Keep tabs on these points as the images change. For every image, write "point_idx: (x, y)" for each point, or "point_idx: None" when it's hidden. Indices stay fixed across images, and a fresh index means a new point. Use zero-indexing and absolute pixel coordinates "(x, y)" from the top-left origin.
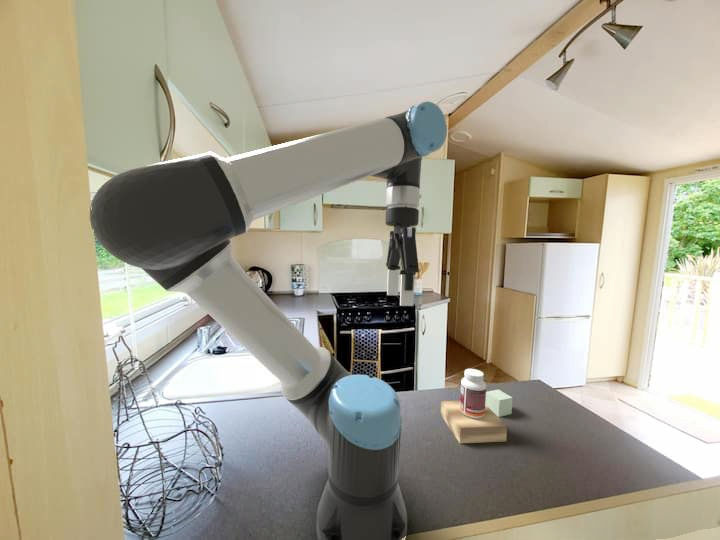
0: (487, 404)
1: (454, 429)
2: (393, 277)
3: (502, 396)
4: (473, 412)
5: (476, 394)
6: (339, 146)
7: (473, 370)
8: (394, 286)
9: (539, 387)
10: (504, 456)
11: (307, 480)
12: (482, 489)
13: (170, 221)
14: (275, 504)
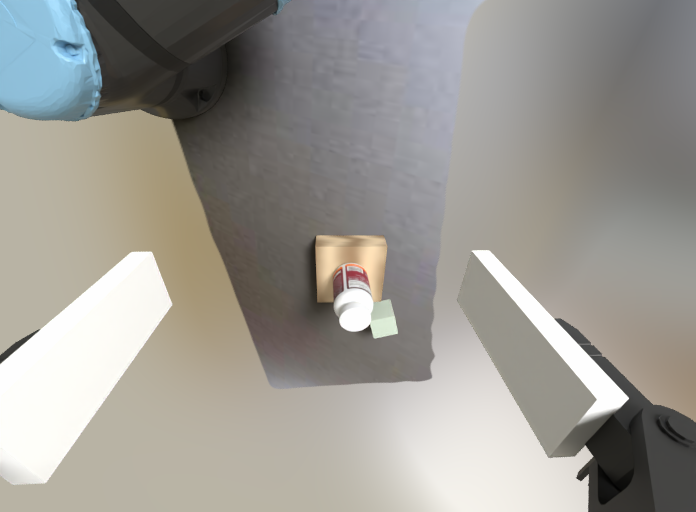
0: (386, 305)
1: (334, 239)
2: (526, 366)
3: (378, 329)
4: (334, 276)
5: (334, 297)
6: None
7: (362, 322)
8: (486, 320)
9: (421, 377)
10: (292, 274)
11: None
12: (240, 227)
13: None
14: None
